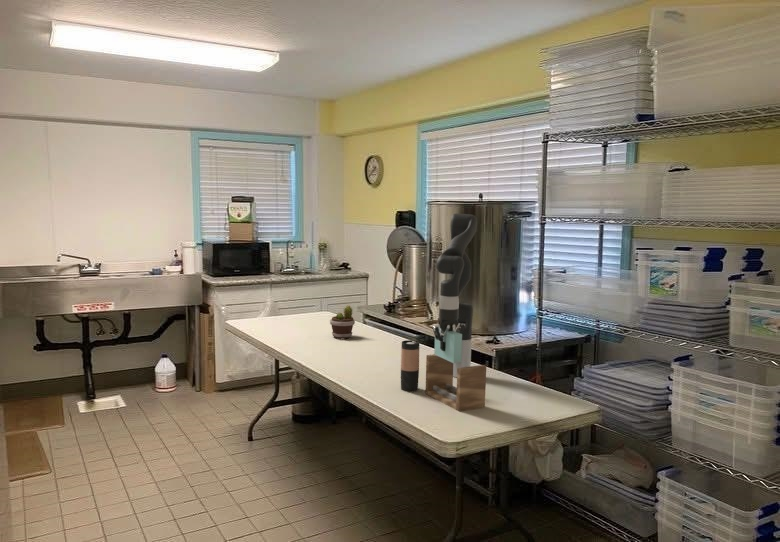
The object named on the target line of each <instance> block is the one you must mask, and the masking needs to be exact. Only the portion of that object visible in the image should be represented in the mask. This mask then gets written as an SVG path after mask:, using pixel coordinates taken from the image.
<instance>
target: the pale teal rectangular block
mask: <svg viewBox="0 0 780 542" xmlns="http://www.w3.org/2000/svg"><path fill="white" fill-rule="evenodd" d="M439 329H440V328H439ZM439 332H441V329H440V330H439ZM443 333H444V332H443ZM445 342H446V347H445V351H442V350H441V349H440V341H439V340H437V339H436V338H435V337H434V353H433V354H435V355H437V356H439V357H441V358H443V359H445V360H448V361H450V362H452V363H459V362H461V352H462V334H460V333H458V332H455V331H448V332H447V336H446V341H445Z"/></svg>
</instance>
